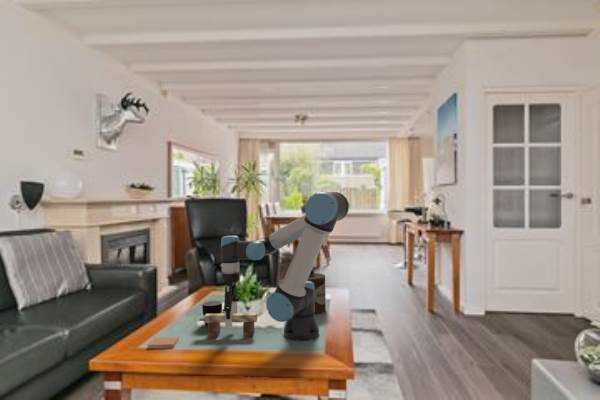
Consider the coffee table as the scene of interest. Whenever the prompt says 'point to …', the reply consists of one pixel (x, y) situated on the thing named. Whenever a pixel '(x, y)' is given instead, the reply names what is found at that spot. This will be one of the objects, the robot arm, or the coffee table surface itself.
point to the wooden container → (318, 291)
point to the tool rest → (215, 330)
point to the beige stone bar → (235, 317)
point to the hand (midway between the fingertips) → (231, 321)
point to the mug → (211, 308)
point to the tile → (163, 342)
